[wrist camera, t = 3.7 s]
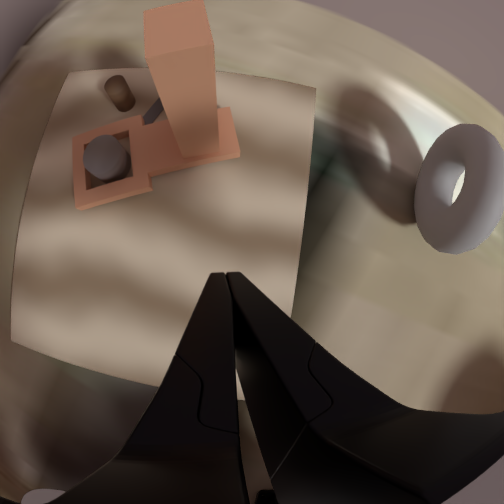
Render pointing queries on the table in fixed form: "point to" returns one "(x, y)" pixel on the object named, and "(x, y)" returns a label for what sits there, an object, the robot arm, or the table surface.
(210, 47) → the pink l-shaped piece
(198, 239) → the board
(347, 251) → the table surface
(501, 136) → the table surface
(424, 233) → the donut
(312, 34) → the table surface
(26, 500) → the desk lamp
